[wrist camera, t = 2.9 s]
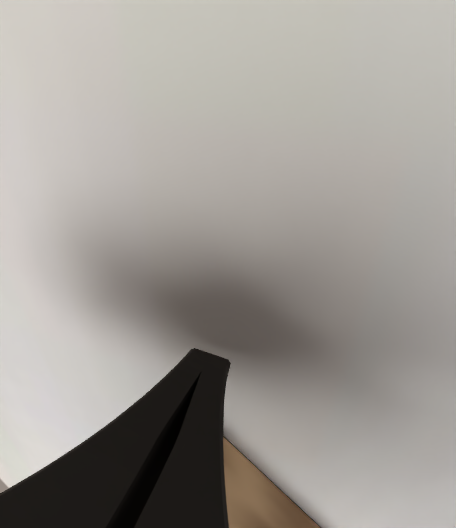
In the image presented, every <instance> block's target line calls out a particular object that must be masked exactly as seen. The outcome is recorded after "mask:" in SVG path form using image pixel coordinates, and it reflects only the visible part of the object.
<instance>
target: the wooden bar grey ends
mask: <svg viewBox="0 0 456 528" xmlns="http://www.w3.org/2000/svg"><path fill="white" fill-rule="evenodd" d="M223 450H224V474H225V489H226V502H227V512H228V523H229V528H320V527H319V526H318V525H317V524H316V523H315V522H314V521H313V520H312V519H311V518H309V517H308V516H307V515H306V514H305V513H304V512H303V511H302V510H301V509H300V508H299V507H298V506H297V505H296V504H295V503H293V502H292V501H291V500H290V499H289V498H288V497H287V496H286V495H285V494H284V493H283V492H282V491H281V490H280V489H279V488H277V487H276V486H275V485H274V484H273V483H272V482H271V481H270V480H269V479H268V478H267V477H266V476H265V475H264V474H263V473H261V472H260V471H259V470H258V469H257V468H256V467H255V466H254V465H253V464H252V463H251V462H250V461H249V460H248V459H247V458H245V457H244V456H243V455H242V454H241V453H240V452H239V451H238V450H237V449H236V448H235V447H234V446H233V445H232V444H231V443H229V442H228V441H227V440H226V439H225V438H224V437H223Z"/></svg>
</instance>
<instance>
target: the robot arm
mask: <svg viewBox="0 0 456 528" xmlns="http://www.w3.org/2000/svg"><path fill="white" fill-rule="evenodd" d="M230 364H231V363H230V362H229V360H228V359H225V358H222V357H219V356H216V355H213V354H210V353H207V352H204V351H201V350H198V349H195V348H194V349H191V350H190V351H189V352H188V354H187V355H186V356H185V357H184V358H183V359H182V360H181V361H180V362H179V363H178V364H177V365H176V366H175V367H174V368H173V369H172V370H171V371H170V372H169V373H168V374H167V375H166V376H165V377H164V378H163V379H162V380H161V381H160V382H158V383H157V384H156V385H155V386H154V387H153V388H152V389H151V390H150V391H149V392H147V393H146V394H145V395H144V396H143V397H142V398H140V399H139V400H138V401H137V402H135V403H134V404H133V405H132V406H131V407H129V408H128V409H127V410H126V411H124V412H123V413H122V414H121V415H119V416H118V417H117V418H116V419H114V420H113V421H112V422H110V423H109V424H108V425H106V426H105V427H104V428H102V429H101V430H100V431H98V432H97V433H95V434H94V435H93V436H91V437H90V438H88V439H87V440H85V441H84V442H83V443H81V444H80V445H78V446H77V447H75V448H74V449H72V450H70V451H69V452H67V453H66V454H64V455H63V456H61V457H60V458H58V459H57V460H55V461H54V462H52V463H51V464H49V465H47V466H46V467H44V468H43V469H41V470H39V471H38V472H36V473H34V474H33V475H31V476H29V477H28V478H26V479H24V480H22V481H21V482H19V483H17V484H16V485H14V486H12V487H11V488H9V489H7V490H5V491H4V492H2V493H0V528H229V523H228V512H227V502H226V489H225V474H224V450H223V417H224V396H225V386H226V380H227V376H228V372H229V368H230Z"/></svg>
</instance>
